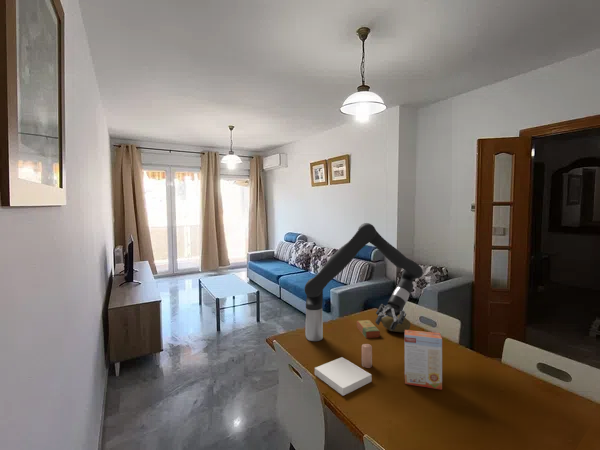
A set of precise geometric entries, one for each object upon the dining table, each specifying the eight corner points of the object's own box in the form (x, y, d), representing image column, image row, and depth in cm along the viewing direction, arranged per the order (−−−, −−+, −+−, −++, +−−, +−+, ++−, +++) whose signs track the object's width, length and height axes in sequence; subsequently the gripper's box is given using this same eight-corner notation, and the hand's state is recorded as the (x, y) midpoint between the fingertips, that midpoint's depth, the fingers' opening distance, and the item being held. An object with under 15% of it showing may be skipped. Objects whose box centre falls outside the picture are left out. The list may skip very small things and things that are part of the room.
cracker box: (440, 382, 122) (440, 332, 120) (442, 390, 116) (442, 338, 115) (404, 376, 126) (404, 328, 125) (404, 384, 120) (404, 334, 119)
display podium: (314, 374, 128) (314, 367, 128) (341, 363, 137) (341, 356, 137) (343, 395, 114) (342, 388, 113) (371, 381, 123) (371, 374, 122)
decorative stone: (377, 331, 172) (377, 314, 171) (383, 325, 181) (383, 309, 181) (407, 338, 162) (407, 320, 162) (412, 331, 172) (412, 314, 171)
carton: (369, 326, 180) (369, 319, 180) (380, 337, 164) (380, 330, 164) (356, 327, 179) (356, 320, 179) (365, 338, 163) (366, 331, 163)
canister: (359, 364, 136) (359, 345, 135) (366, 361, 139) (366, 342, 138) (367, 369, 132) (367, 349, 132) (374, 365, 135) (374, 346, 134)
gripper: (383, 291, 151) (368, 318, 145) (408, 297, 139) (392, 327, 134) (390, 299, 154) (376, 326, 149) (414, 306, 143) (399, 335, 137)
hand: (383, 326), depth 141 cm, fingers open, 8 cm apart
